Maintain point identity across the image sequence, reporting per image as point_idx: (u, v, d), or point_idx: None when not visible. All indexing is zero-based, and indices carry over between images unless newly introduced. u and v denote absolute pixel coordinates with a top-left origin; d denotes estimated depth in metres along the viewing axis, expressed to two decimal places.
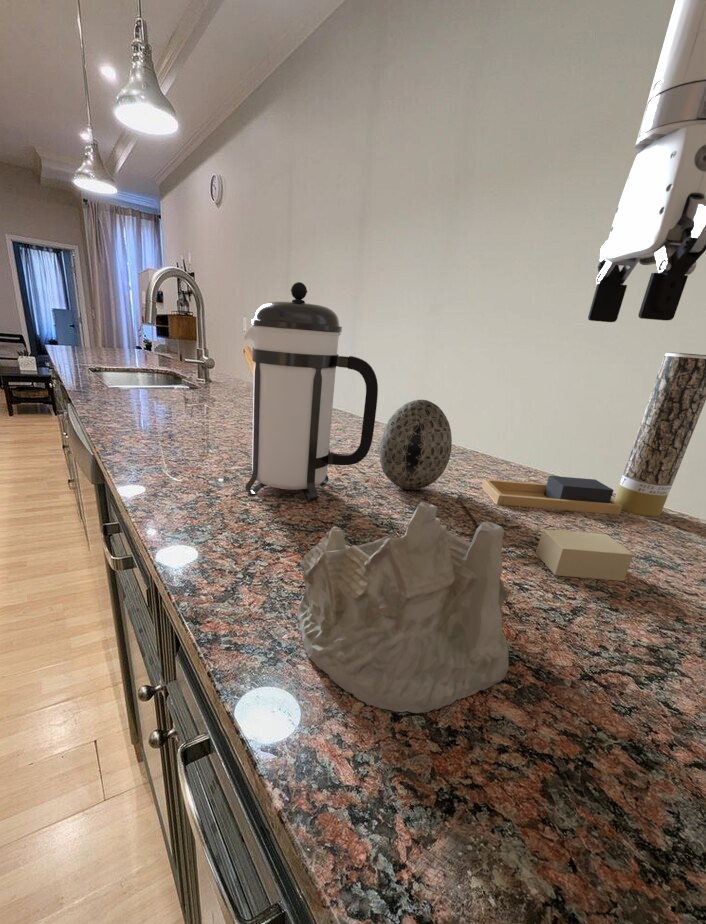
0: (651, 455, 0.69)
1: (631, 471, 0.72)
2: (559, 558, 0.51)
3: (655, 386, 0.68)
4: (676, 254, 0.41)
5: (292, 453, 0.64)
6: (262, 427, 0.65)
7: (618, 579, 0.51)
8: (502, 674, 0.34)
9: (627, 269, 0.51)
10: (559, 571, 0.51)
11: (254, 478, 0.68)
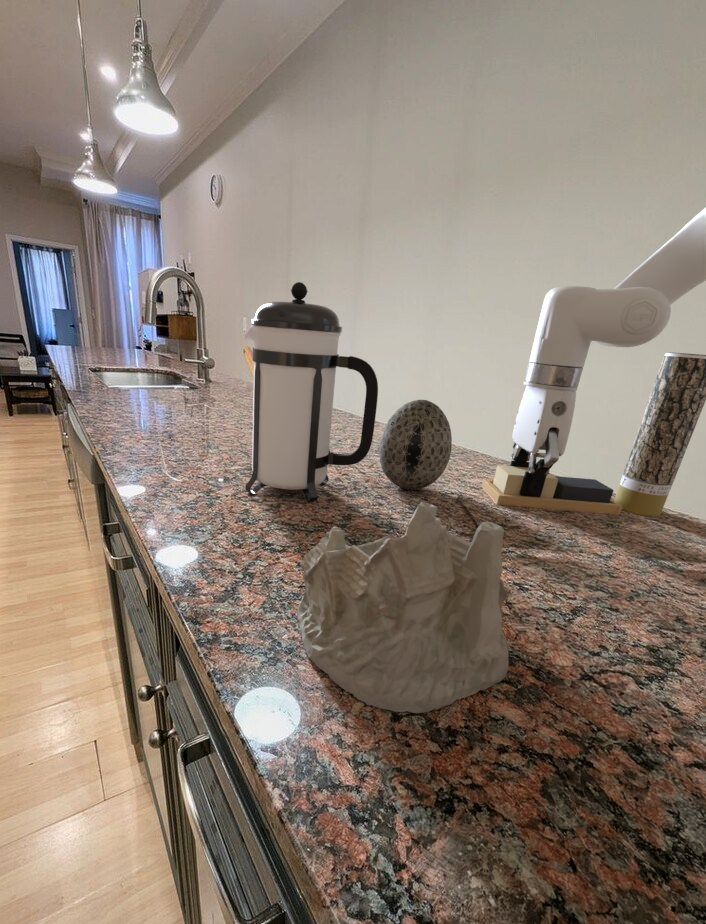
0: (651, 455, 0.69)
1: (631, 471, 0.72)
2: (506, 482, 0.72)
3: (655, 386, 0.68)
4: (536, 465, 0.68)
5: (292, 453, 0.64)
6: (262, 427, 0.65)
7: (548, 497, 0.72)
8: (502, 674, 0.34)
9: None
10: (506, 491, 0.72)
11: (254, 478, 0.68)
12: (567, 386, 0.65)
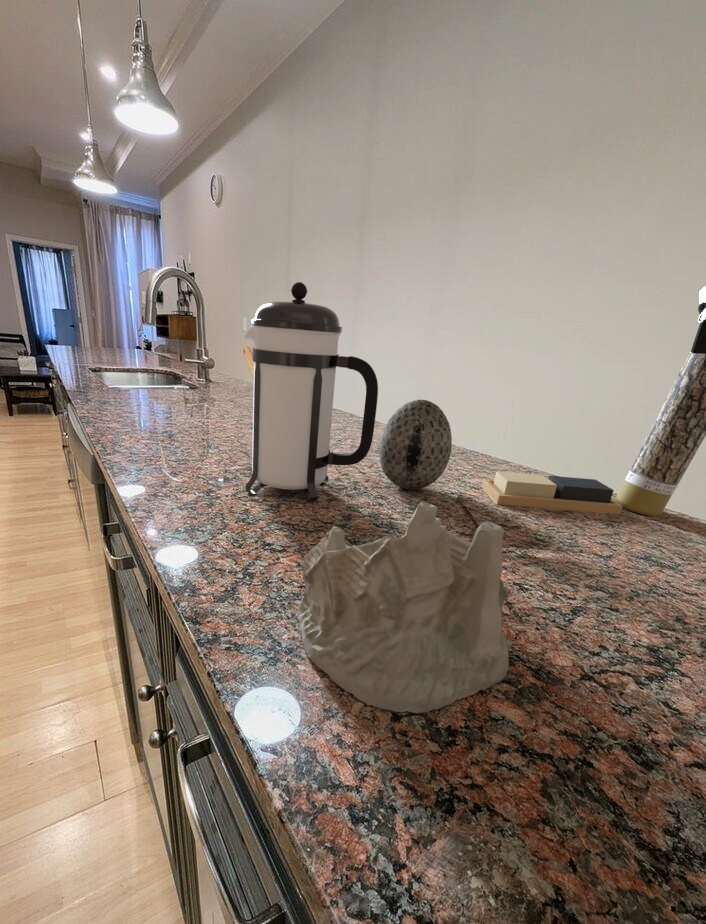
0: (662, 452, 0.68)
1: (639, 467, 0.71)
2: (505, 488, 0.72)
3: (676, 383, 0.67)
4: None
5: (292, 453, 0.64)
6: (262, 427, 0.65)
7: None
8: (502, 674, 0.34)
9: None
10: None
11: (254, 478, 0.68)
12: None
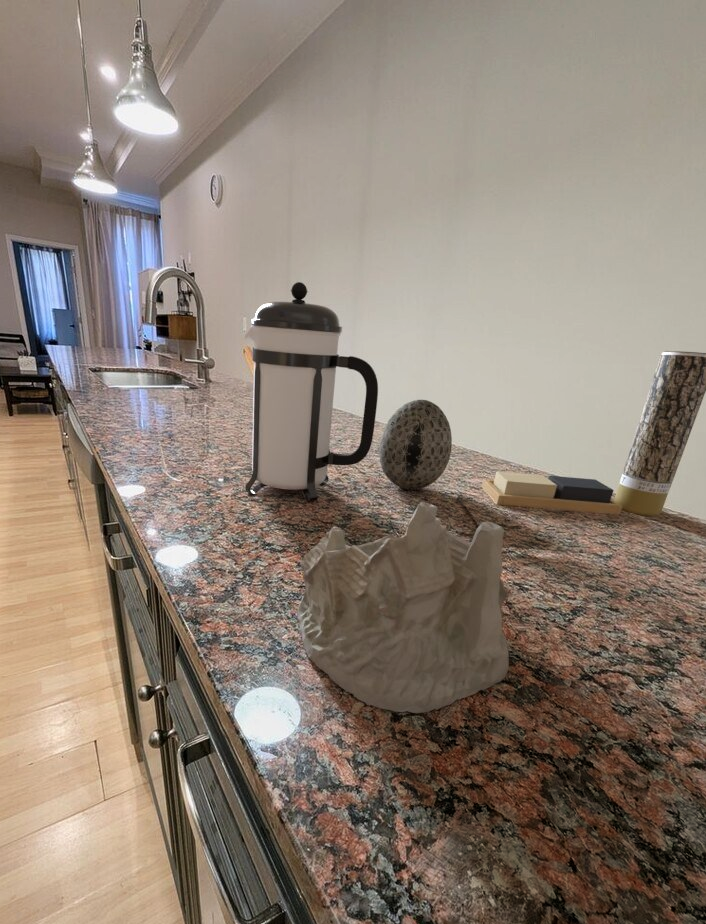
0: (650, 453, 0.69)
1: (630, 469, 0.72)
2: (505, 488, 0.72)
3: (653, 385, 0.69)
4: None
5: (292, 453, 0.64)
6: (262, 427, 0.65)
7: None
8: (502, 674, 0.34)
9: None
10: None
11: (254, 478, 0.68)
12: None
